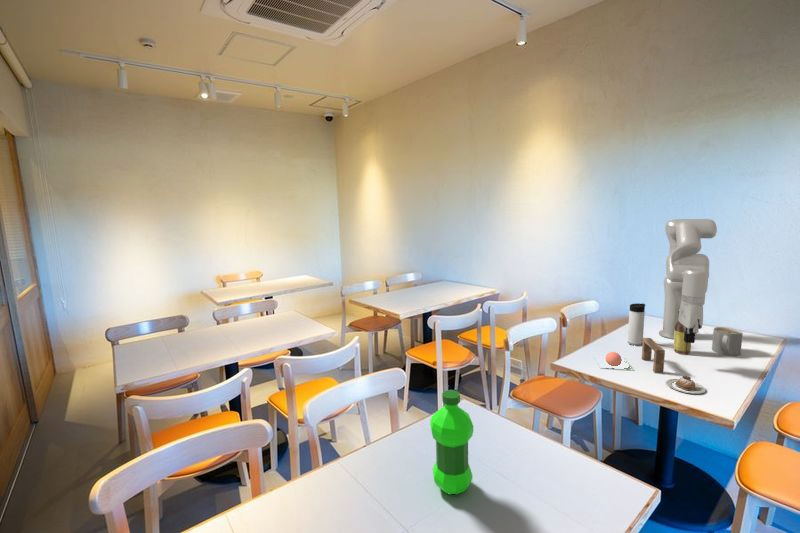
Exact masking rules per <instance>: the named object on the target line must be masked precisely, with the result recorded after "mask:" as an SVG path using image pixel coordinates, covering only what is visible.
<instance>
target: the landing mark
mask: <svg viewBox="0 0 800 533" xmlns="http://www.w3.org/2000/svg"><path fill="white" fill-rule="evenodd" d="M623 358H624V357H623ZM624 359H625V360H626V362H625V361H624V362H625V363H627V362H628V360H627V359H626V358H624ZM628 364H629V367H628V368H624V369H626V370H625V371H630V370H631V369H632V370H635V369H634V368H633V366H632V365H631V364H630V363H629V362H628ZM630 367H631V368H630ZM627 369H629V370H627Z"/></svg>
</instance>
